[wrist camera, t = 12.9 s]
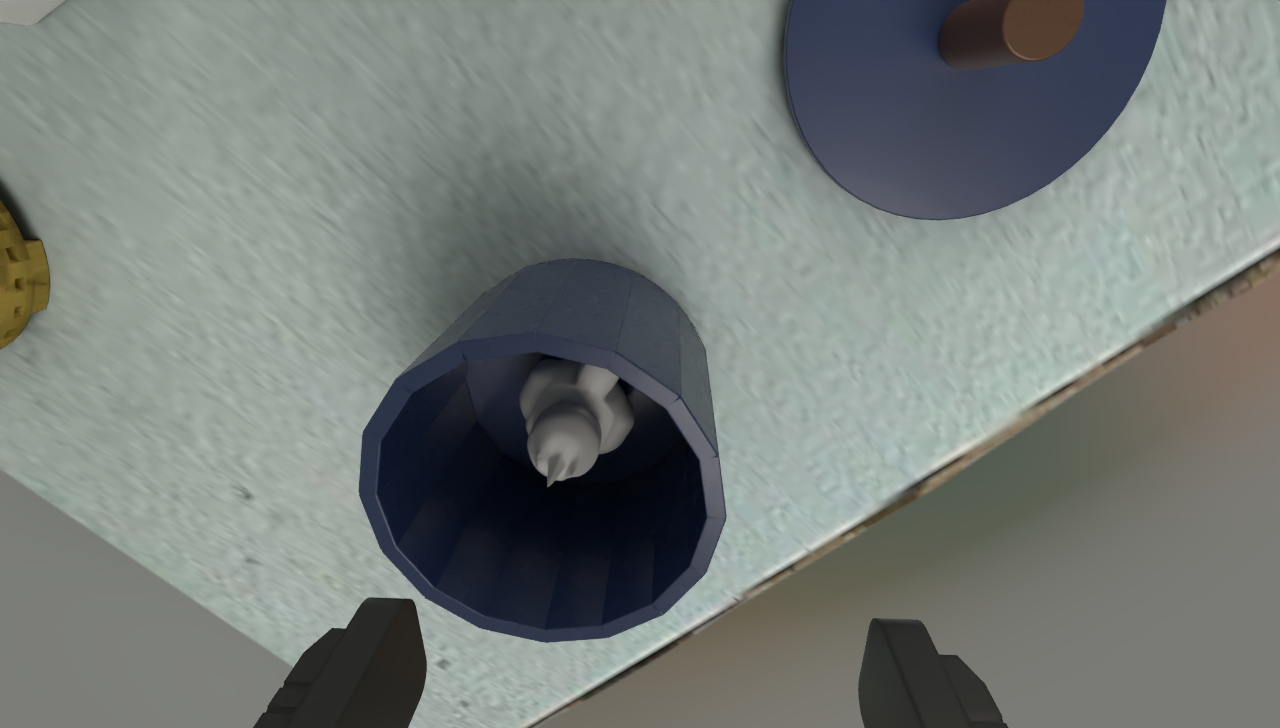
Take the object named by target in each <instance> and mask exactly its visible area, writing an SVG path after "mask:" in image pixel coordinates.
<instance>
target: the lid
mask: <svg viewBox="0 0 1280 728" xmlns="http://www.w3.org/2000/svg"><path fill="white" fill-rule="evenodd" d="M1165 5H1166V0H791V2H790V6H789V10H788V14H787V20H786V28H785V37H784V75H785V84H786V92H787V96H788V100H789V104H790V108H791V112H792V116H793V118H794V121H795V123H796V126H797V128H798V131H799V134H800V136H801V138H802V140H803V141H804V143H805V145H806V147H807V148H808V150H809V152H810V154H811V155H812V157H813V158H814V159H815V161H816V162H817V163H818V164H819V166H820V167H821V168H822V170H823V171H824V172H825V173H826V174H827V175H828V176H829V177H830V178H831V179H832V180H833V181H834V182H835V183H836V184H837V185H839V186H840V187H841V188H843V189H844V190H845V191H847V192H848V193H850V194H851V195H852V196H854V197H855V198H857V199H859V200H861V201H863V202H865V203H867V204H869V205H871V206H873V207H875V208H877V209H880V210H883V211H886V212H889V213H891V214H894V215H898V216H903V217H909V218H914V219H925V220H947V219H960V218H965V217H970V216H975V215H980V214H984V213H987V212H990V211H993V210H997V209H1000V208H1003V207H1006V206H1008V205H1010V204H1012V203H1014V202H1017V201H1019V200H1021V199H1023V198H1025V197H1028V196H1029V195H1031V194H1033V193H1034V192H1036V191H1038V190H1039V189H1041V188H1043V187H1044V186H1046V185H1048V184H1049V183H1051V182H1052V181H1054V180H1055V179H1056V178H1058V177H1059V176H1060V175H1062V174H1063V173H1064V172H1066V171H1067V170H1068V169H1070V168H1071V167H1072V166H1073V165H1074V164H1075V163H1077V162H1078V161H1079V160H1080V159H1081V158H1082V157H1083V156H1084V155H1085V154H1086V153H1087V152H1089V151H1090V150H1091V149H1092V147H1093V146H1094V145H1095V144H1096V143H1097V142H1098V141H1099V140H1100V139H1101V137H1102V136H1103V135H1104V134H1105V133H1106V132H1107V131H1108V130H1109V128H1110V127H1111V126H1112V124H1113V123H1114V121H1115V120H1116V119H1117V117H1118V116H1119V115H1120V113H1121V112H1122V111H1123V109H1124V108H1125V106H1126V105H1127V103H1128V101H1129V100H1130V98H1131V96H1132V94H1133V93H1134V91H1135V89H1136V88H1137V86H1138V84H1139V82H1140V80H1141V78H1142V76H1143V74H1144V71H1145V69H1146V67H1147V65H1148V63H1149V61H1150V58H1151V56H1152V53H1153V50H1154V47H1155V44H1156V41H1157V38H1158V35H1159V32H1160V28H1161V24H1162V19H1163V14H1164V10H1165Z"/></svg>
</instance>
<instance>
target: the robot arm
mask: <svg viewBox="0 0 1280 728" xmlns="http://www.w3.org/2000/svg"><path fill="white" fill-rule="evenodd" d="M426 671H427V661H426V655H425V650H424V645H423V640H422V635H421V630H420V625H419V620H418V615H417V610H416V606H415V603H414V601H413V600H412V599H398V598H371V597H370V598H367V599H366V600H365V601H364V602H363V603H362V604H361V605H360V607H359V608H358V610H357V612H356V613H355V615H354V616H353V618H352V620H351V621H350V623H349V624H348V626H347V628H346V629H341V628H332V629H331V630H329V631H328V632H327V633H326V634H325V635H324V636H322V637H321V638H320V639H319V640H318V641H317V642H315V643H314V644H313V645H312V646H311V647H310V648H309V649H307V650H306V651H305V652H304V653H303V654H302V656H301V657H300V659H299V660H298V662H297V663H296V665H295V666H294V668H293V669H292V671H291V672H290V674H289V675H288V677H287V678H286V680H285V681H284V686H283V688H280V689H279V690H278V692H277V693H276V694H275V696H274V697H273V699H272V700H271V702H270V703H269V705H268V709H267V712H266V713H263V714H262V715H261V717H260V718H259V720H258V721H257V723H256V724H255V726H254V727H253V728H408V726H409V724H410V722H411V719H412V717H413V715H414V712H415V710H416V708H417V705H418V703H419V701H420V698H421V695H422V692H423V689H424V684H425V679H426ZM858 690H859V704H860V710H861V716H862V720H863V723H864V727H865V728H1008V726H1007V724H1006V723H1003V720H1002V715H1001V713H1000V711H999V709H998V707H997V706H996V704H995V702H994V700H993V698H992V696H991V694H990V692H989V691H988V689H987V687H986V685H985V683H984V682H983V681H982V680H981V679H980V678H979V677H978V676H977V675H976V674H975V673H974V672H973V671H972V670H971V669H970V668H969V667H968V666H967V665H966V664H965V663H964V662H963V661H962V660H961V659H960V658H959V657H958V656H957V655H939V654H938V652H937V650H936V648H935V646H934V644H933V642H932V640H931V637H930V635H929V633H928V631H927V629H926V627H925V626H924V624H923V623H922V622H921V621H919V620H910V619H883V618H882V619H881V618H874V619H872V621H871V623H870V626H869V631H868V636H867V641H866V646H865V651H864V657H863V662H862V667H861V672H860V677H859V688H858Z"/></svg>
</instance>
